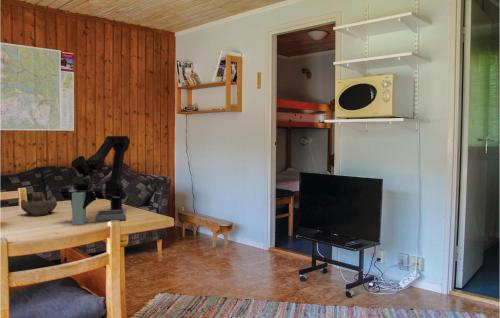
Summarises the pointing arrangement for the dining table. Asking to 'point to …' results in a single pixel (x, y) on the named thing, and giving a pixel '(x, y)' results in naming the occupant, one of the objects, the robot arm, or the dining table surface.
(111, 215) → the tray
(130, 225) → the dining table surface
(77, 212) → the block
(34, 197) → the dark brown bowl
